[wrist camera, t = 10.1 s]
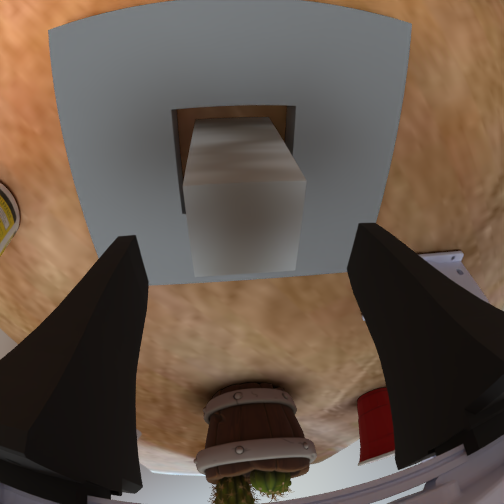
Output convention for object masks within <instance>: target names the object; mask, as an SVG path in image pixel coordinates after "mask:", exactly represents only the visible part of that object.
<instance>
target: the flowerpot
mask: <svg viewBox="0 0 504 504" xmlns="http://www.w3.org/2000/svg"><path fill="white" fill-rule="evenodd" d="M203 411H204V420H205V422H206V423H207V424H209V428H208V434H207V439H206V445H205V449H204V450H201V451H200V452H198V454H197V456H196V459H194V463H195V464H196V467H197V470H198V471H199V472H200V473H202V474H204V475H206V479H207V481H208V482H209V483H212V484H216V485H217V486H216V487H215V489H216V493H215V494H214V495H216V498H215V501H213V500H212V501H213V503H215V504H255V503H254V501H255V499H254V498H253V496H252V494H251V489H250V488H251V487H254V488H255V489H256V490H259V491H260V494H261V493H262V492H264V493H265V494H267V496H268V495H271V494H272V499H273V497H275V495H274V494H277V495H279V494H280V496H281V493H284V492H287V491H288V486H290V485H291V481H290V479H291V478H294V477H298V476H301V475H304V474H306V473H307V472H308V471H309V464H310V463H311V462H313V461H314V460H315V459H316V457H317V454H316V450H315V446H314V443H313V442H312V441H311V440H309V439H306V438H305V437H304V434H303V431H302V429H301V427H300V425H299V423H298V421H297V419H296V417H295V413H296V411H297V408H296V405H295V403H294V401H293V399H292V397H291V396H290V395H289V394H288V393H287V392H285V391H284V389H283V388H280V387H279V388H275V389H273V386H272V385H271V384H269V383H261V384H260V385H259V384H257V383H245V384H241V385H232V386H229V387H226V388H224V389H223V390H220V391H218V392H217V393H216V394H215V395H214V396H213V398H212V400H210V401H209V402H208V403H207V405H206V407H205V408H204V409H203ZM249 484H252V485H249ZM213 487H214V486H213ZM254 488H253V489H254ZM255 489H254V490H255ZM213 490H214V489H213ZM288 492H289V491H288ZM252 493H254V492H252ZM264 493H263V494H264ZM265 494H264V495H265ZM214 495H213V496H214ZM282 495H284V494H282ZM262 496H263V495H262ZM214 497H215V496H214ZM214 497H213V498H214ZM268 497H269V496H268ZM281 497H282V496H281ZM275 498H276V497H275ZM275 498H274V499H275ZM256 500H258V499H256ZM275 500H276V499H275ZM213 503H212V504H213ZM269 503H270V502H269Z"/></svg>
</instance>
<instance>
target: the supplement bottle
mask: <svg viewBox="0 0 504 504" xmlns="http://www.w3.org/2000/svg"><path fill="white" fill-rule="evenodd" d="M19 221H20V216H19V210H18V206H17V204H16V201H15V199H14V197H13V196H12V194H11V193H10V191H9V190H8V189H7V188H6V187H5V186H4V185H3V184H1V183H0V256H1V255H2V253H3V252H4V250H5V249H6V247H7V246H8V244H9V243H10V241H11V239H12V238H13V237H14V235H15V233H16V232H17V230H18V227H19Z"/></svg>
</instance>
